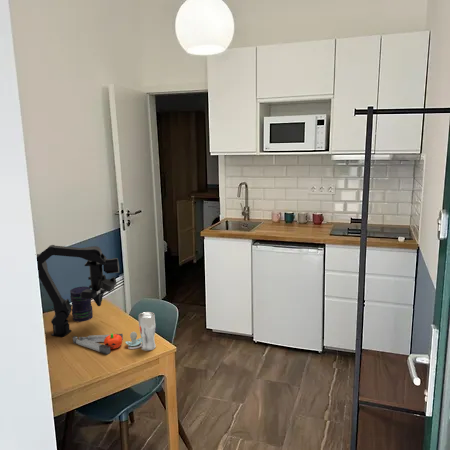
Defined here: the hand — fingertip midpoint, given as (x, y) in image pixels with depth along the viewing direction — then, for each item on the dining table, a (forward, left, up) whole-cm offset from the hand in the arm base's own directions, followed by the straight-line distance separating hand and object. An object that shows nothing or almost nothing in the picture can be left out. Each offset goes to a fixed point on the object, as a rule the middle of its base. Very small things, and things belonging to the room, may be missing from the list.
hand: (99, 305), depth 193 cm
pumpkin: (+15, -13, -12) cm, 23 cm away
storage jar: (-17, +10, -12) cm, 23 cm away
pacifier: (+23, -11, -12) cm, 28 cm away
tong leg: (+7, -10, -12) cm, 17 cm away
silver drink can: (+30, -10, -12) cm, 34 cm away
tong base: (+6, -17, -12) cm, 21 cm away
